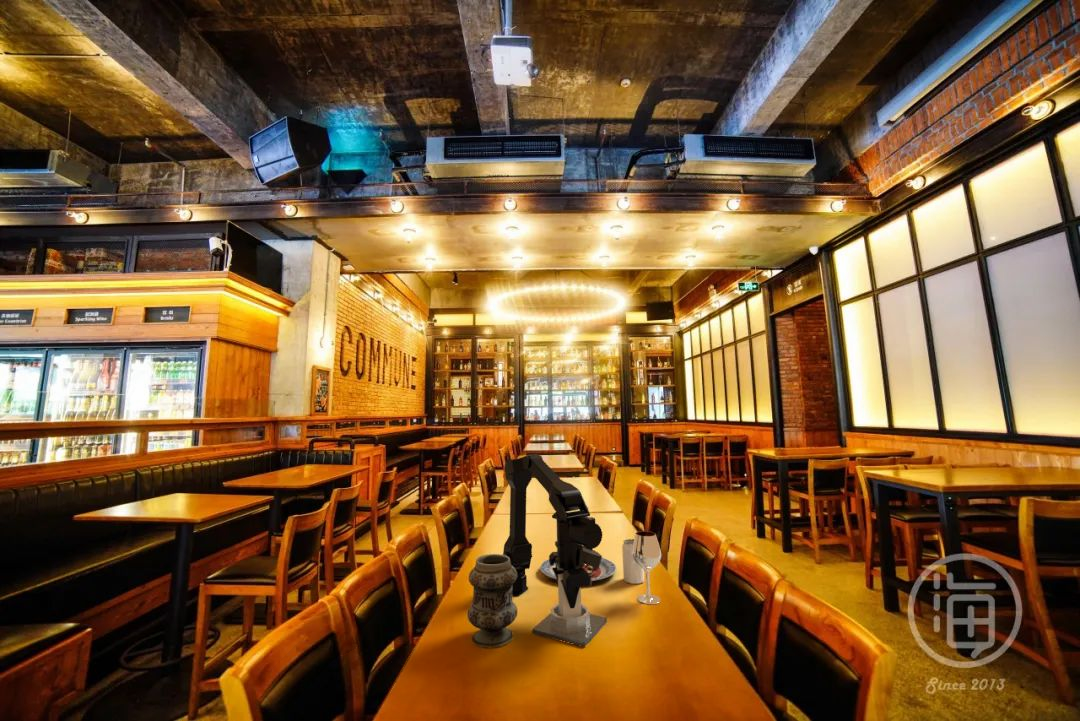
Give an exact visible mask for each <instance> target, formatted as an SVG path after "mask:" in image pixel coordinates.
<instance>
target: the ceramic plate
mask: <svg viewBox="0 0 1080 721" xmlns="http://www.w3.org/2000/svg"><path fill="white" fill-rule="evenodd" d="M539 568H540V571H541V573H543V575H545V576H547V577H549V578H550V579H554V580H557V579H556V576H555V574H554V571H553V568H556V565H555V562H554V566H551V565H550V563H549V558H548V559H547V560H545V561H543V562H542V563H541V564H540V566H539ZM579 568H584V569H585V570H586V571H587V572H588V573H589V574H590V576H591V581H592V582H594V581H601V580H604V579H607V578H609V577H611V576H613V575H614V574H615V573H616V572H617V565H616V564H615V563H614V562H613V561H611V560H609V559H607V558H606V557H602V559H601V563H600V566H599V569H596V568H594V567H592V566H589V565H585V564H584V567H577V569H579Z"/></svg>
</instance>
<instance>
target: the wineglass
mask: <svg viewBox="0 0 1080 721" xmlns="http://www.w3.org/2000/svg"><path fill="white" fill-rule="evenodd" d="M634 534H635V535H634V538H633V539H634V543H633V549H632V555H633V558H634V560H635V562H636V563H637V564H638V565H639V566H640V567H641V568H642V569H643V570H644V573H645V575H646V576H645V577H646V593H645V594H640V595H638V596H637V601H638V602H640V603H642V604H645V605H657V604H659V603H661V598H660V597H659V596H657V595H654V594H651V588H650V585H651V584H650V572H651V571H652V570H653V569H654V568H655V567H656V566H657V565H658V564H659V563H660V561H661V559H662V550H661V548H660V542H659V541H658V538H657V534H656V533H655V532H652V531H647V530H646V531H645V530H641V531H636V532H635V533H634Z"/></svg>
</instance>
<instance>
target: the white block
mask: <svg viewBox="0 0 1080 721" xmlns="http://www.w3.org/2000/svg"><path fill="white" fill-rule="evenodd" d="M561 580H563V574H558V581H557V583H558V584H557V586H558V587H557V588H558V604H559V613H560V614H561V616H562V617H566V618H576V617H579V616H581V604H582V592H581V591H582V590H581V589H582V587H580V589H579V592H578V596H577V600H576V604H575V608H570V606H569V603H568V601H567V598H566V595H565V592H564V589H563V586H562V583H561Z"/></svg>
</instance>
